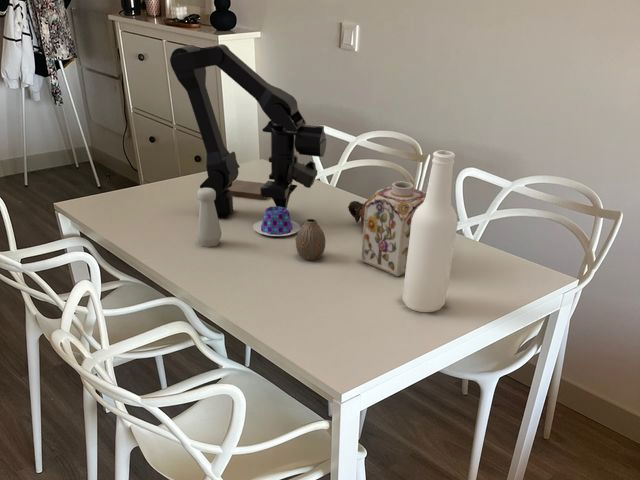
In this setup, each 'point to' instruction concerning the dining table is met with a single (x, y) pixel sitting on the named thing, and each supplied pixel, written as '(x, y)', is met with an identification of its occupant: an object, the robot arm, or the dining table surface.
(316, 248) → the vase
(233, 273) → the dining table surface
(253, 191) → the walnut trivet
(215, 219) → the salt shaker
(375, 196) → the decorative jar
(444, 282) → the alcohol
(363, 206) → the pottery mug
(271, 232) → the pudding
